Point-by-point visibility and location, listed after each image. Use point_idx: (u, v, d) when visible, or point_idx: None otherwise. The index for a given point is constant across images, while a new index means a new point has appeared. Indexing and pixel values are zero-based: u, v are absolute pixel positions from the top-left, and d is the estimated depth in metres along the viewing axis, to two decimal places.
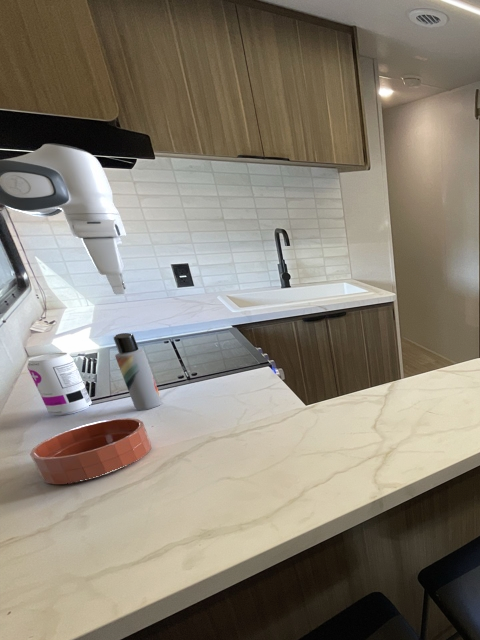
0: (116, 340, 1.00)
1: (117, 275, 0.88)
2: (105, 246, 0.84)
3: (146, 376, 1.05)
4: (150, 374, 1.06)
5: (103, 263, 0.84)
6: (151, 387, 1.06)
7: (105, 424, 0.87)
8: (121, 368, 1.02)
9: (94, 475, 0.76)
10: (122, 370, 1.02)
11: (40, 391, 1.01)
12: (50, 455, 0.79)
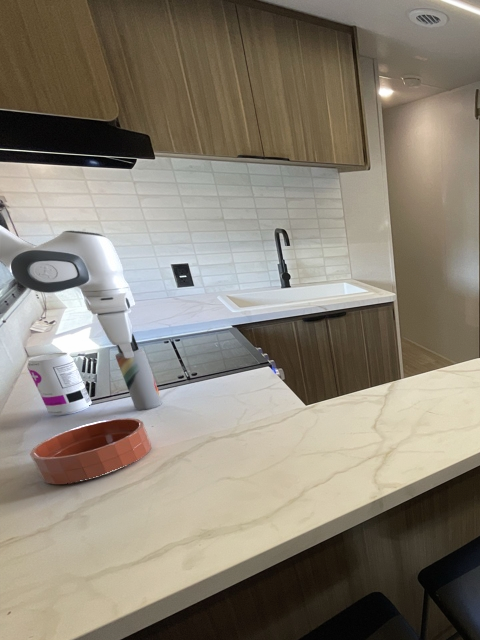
0: None
1: None
2: (117, 321, 0.93)
3: (146, 376, 1.05)
4: (150, 374, 1.06)
5: (115, 335, 0.93)
6: (151, 387, 1.06)
7: (105, 424, 0.87)
8: (121, 368, 1.02)
9: (94, 475, 0.76)
10: (122, 370, 1.02)
11: (40, 391, 1.01)
12: (50, 455, 0.79)
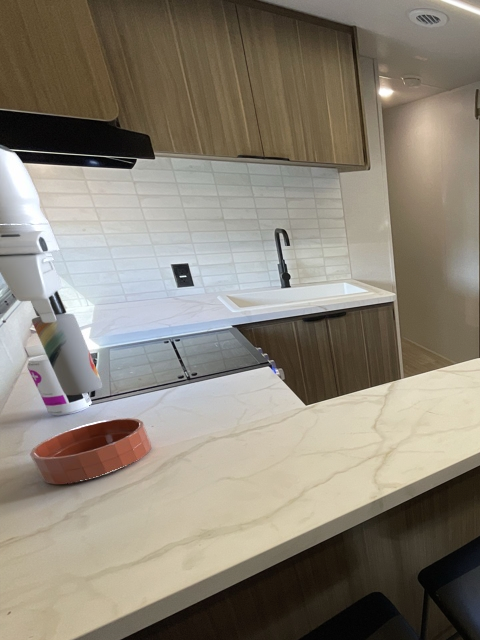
0: None
1: (45, 300, 0.71)
2: (24, 266, 0.66)
3: (77, 350, 0.78)
4: (84, 347, 0.79)
5: (21, 287, 0.66)
6: (85, 364, 0.79)
7: (105, 424, 0.87)
8: (40, 337, 0.75)
9: (94, 475, 0.76)
10: (42, 340, 0.75)
11: (40, 391, 1.01)
12: (50, 455, 0.79)
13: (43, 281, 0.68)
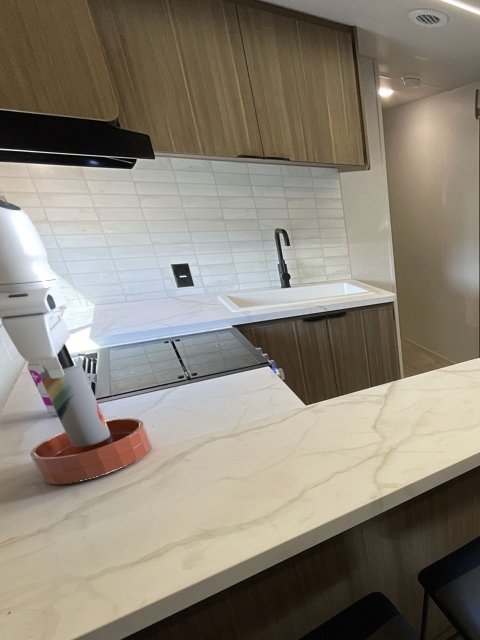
0: None
1: None
2: (32, 327, 0.65)
3: (85, 402, 0.77)
4: (91, 398, 0.78)
5: (29, 348, 0.65)
6: (93, 416, 0.78)
7: None
8: (48, 392, 0.74)
9: (94, 475, 0.76)
10: (50, 394, 0.74)
11: (40, 391, 1.01)
12: (50, 455, 0.79)
13: (51, 340, 0.67)
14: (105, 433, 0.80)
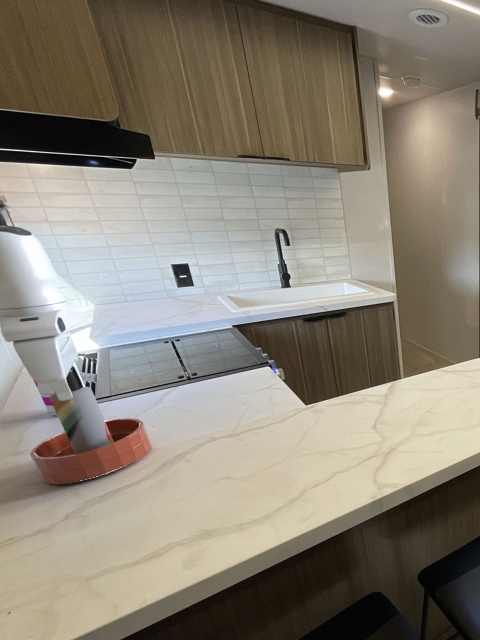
0: None
1: (62, 379, 0.71)
2: (43, 350, 0.66)
3: (94, 423, 0.78)
4: (100, 419, 0.79)
5: (40, 371, 0.67)
6: (101, 436, 0.80)
7: None
8: (58, 414, 0.75)
9: (94, 475, 0.76)
10: (59, 416, 0.75)
11: (40, 391, 1.01)
12: (50, 455, 0.79)
13: (61, 363, 0.68)
14: None
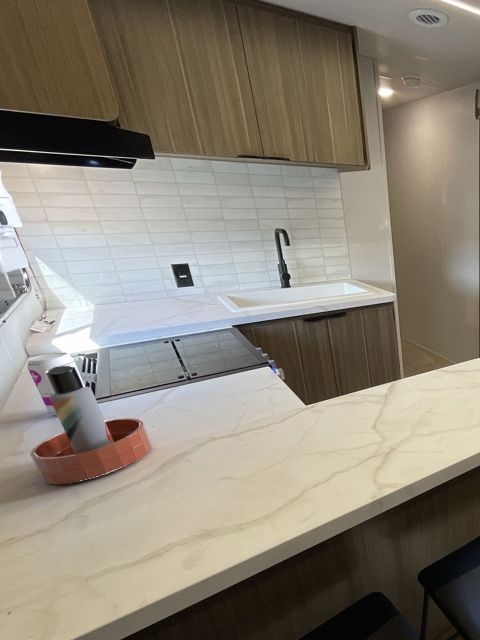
0: (50, 377, 0.73)
1: (2, 276, 0.69)
2: None
3: (94, 423, 0.78)
4: (100, 419, 0.79)
5: None
6: (101, 436, 0.80)
7: None
8: (58, 414, 0.75)
9: (94, 475, 0.76)
10: (59, 416, 0.75)
11: (40, 391, 1.01)
12: (50, 455, 0.79)
13: (0, 255, 0.66)
14: None
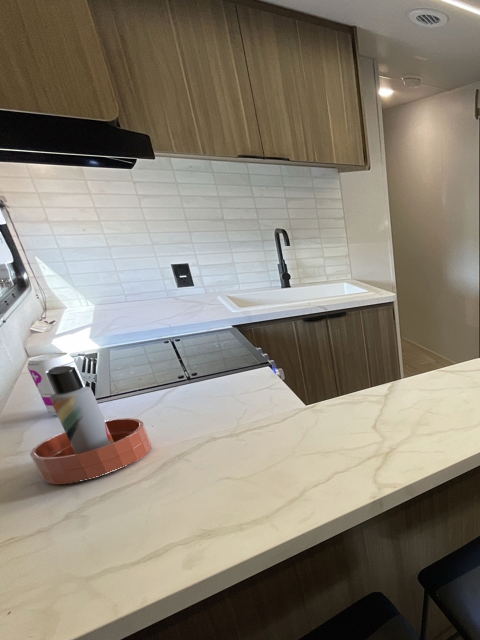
0: (50, 377, 0.73)
1: None
2: None
3: (94, 423, 0.78)
4: (100, 419, 0.79)
5: None
6: (101, 436, 0.80)
7: None
8: (58, 414, 0.75)
9: (94, 475, 0.76)
10: (59, 416, 0.75)
11: (40, 391, 1.01)
12: (50, 455, 0.79)
13: None
14: None
